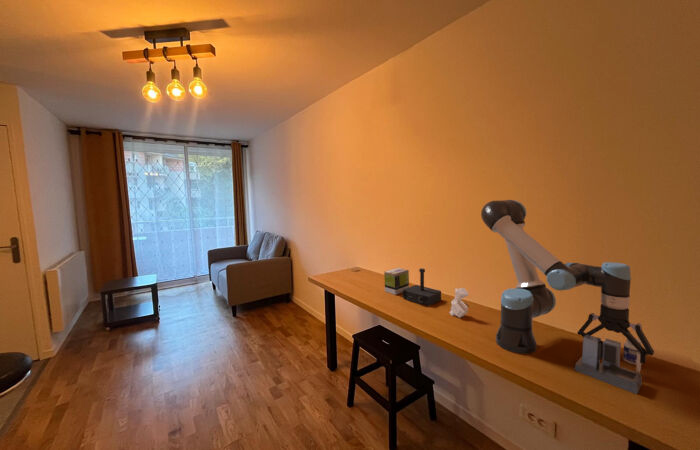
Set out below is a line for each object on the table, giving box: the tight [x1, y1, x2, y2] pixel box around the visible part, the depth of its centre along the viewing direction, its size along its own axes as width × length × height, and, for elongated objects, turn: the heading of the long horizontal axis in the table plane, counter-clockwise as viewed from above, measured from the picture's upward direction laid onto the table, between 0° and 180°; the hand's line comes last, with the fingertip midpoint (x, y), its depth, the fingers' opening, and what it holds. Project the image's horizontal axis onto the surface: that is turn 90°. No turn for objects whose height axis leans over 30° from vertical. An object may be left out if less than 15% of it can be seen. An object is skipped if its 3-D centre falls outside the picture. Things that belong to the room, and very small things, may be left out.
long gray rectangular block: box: [601, 338, 622, 367], centre depth 102 cm, size 5×4×10 cm
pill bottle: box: [622, 337, 644, 366], centre depth 106 cm, size 5×5×9 cm
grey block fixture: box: [574, 335, 643, 395], centre depth 97 cm, size 16×8×12 cm, turn 36°
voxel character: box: [448, 287, 470, 319], centre depth 151 cm, size 7×12×15 cm
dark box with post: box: [402, 268, 442, 307], centre depth 176 cm, size 19×17×20 cm
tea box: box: [383, 267, 410, 296], centre depth 195 cm, size 15×10×15 cm
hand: (612, 362), depth 102 cm, fingers open, 13 cm apart
